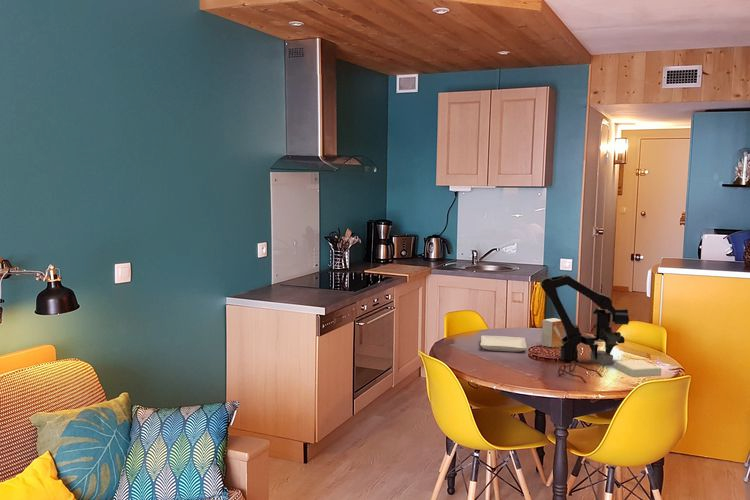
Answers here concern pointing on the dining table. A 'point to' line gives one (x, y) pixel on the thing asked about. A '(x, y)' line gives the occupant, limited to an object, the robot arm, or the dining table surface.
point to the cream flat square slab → (503, 343)
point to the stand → (637, 368)
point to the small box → (552, 332)
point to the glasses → (574, 368)
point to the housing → (602, 358)
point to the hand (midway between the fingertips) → (601, 358)
